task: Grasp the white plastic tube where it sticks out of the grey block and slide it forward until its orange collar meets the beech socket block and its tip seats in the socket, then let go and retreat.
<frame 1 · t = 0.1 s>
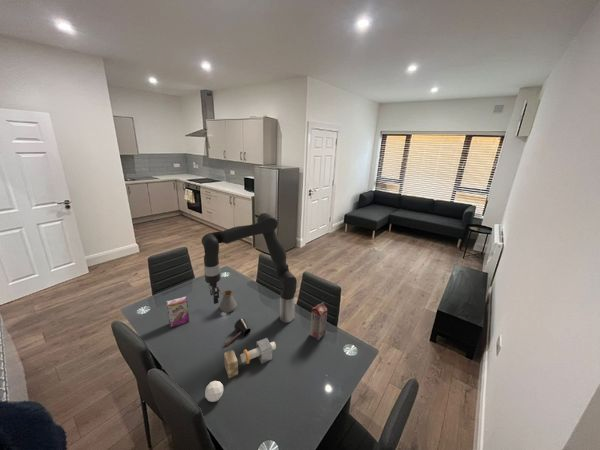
hand: (214, 298, 129), 29 cm above the table, fingers open, 8 cm apart
coffee pot 2: (235, 336, 144), on the table
candy bar box: (179, 323, 152), on the table
geometric ball: (214, 397, 108), on the table
grey block: (264, 356, 130), on the table
coffee pot: (223, 306, 169), on the table
juice carton: (317, 334, 148), on the table
tube: (258, 351, 127), point 5 cm above the table, slide at 0.0 cm
socket: (231, 370, 121), on the table
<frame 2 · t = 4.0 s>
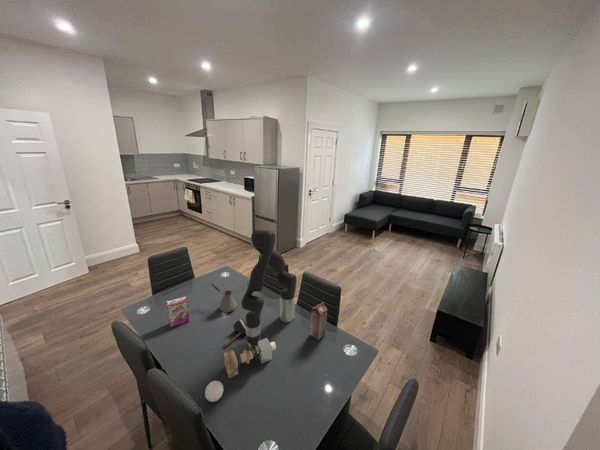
hand: (253, 357, 127), 2 cm above the table, fingers closed on tube, 4 cm apart
tube: (258, 351, 127), point 5 cm above the table, slide at 0.0 cm, touching gripper
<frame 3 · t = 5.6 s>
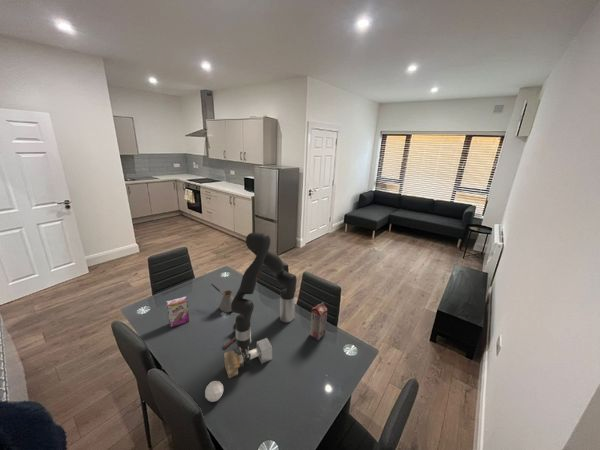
hand: (244, 361, 124), 2 cm above the table, fingers closed on tube, 4 cm apart
tube: (249, 355, 125), point 5 cm above the table, slide at 5.0 cm, touching gripper
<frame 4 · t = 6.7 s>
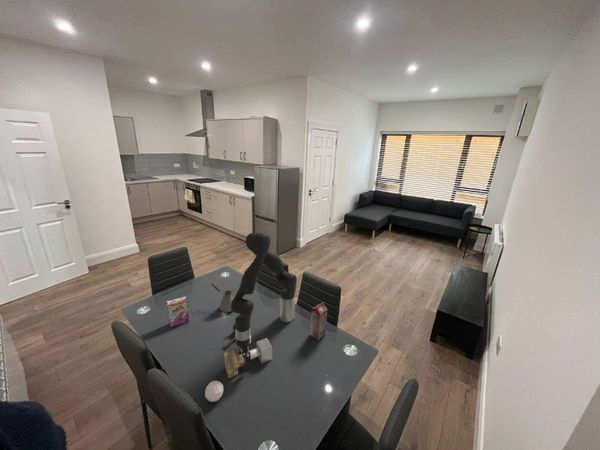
hand: (243, 360, 124), 3 cm above the table, fingers open, 8 cm apart
tube: (249, 355, 125), point 5 cm above the table, slide at 5.0 cm
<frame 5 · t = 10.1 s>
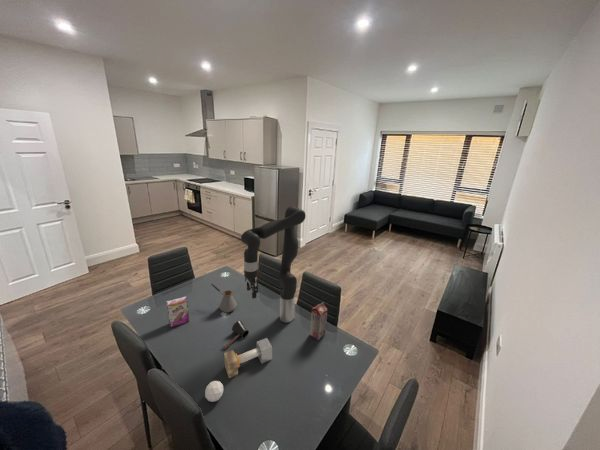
hand: (251, 293, 134), 30 cm above the table, fingers open, 8 cm apart
at the end: tube slide at 5.0 cm; the gripper is holding nothing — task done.
